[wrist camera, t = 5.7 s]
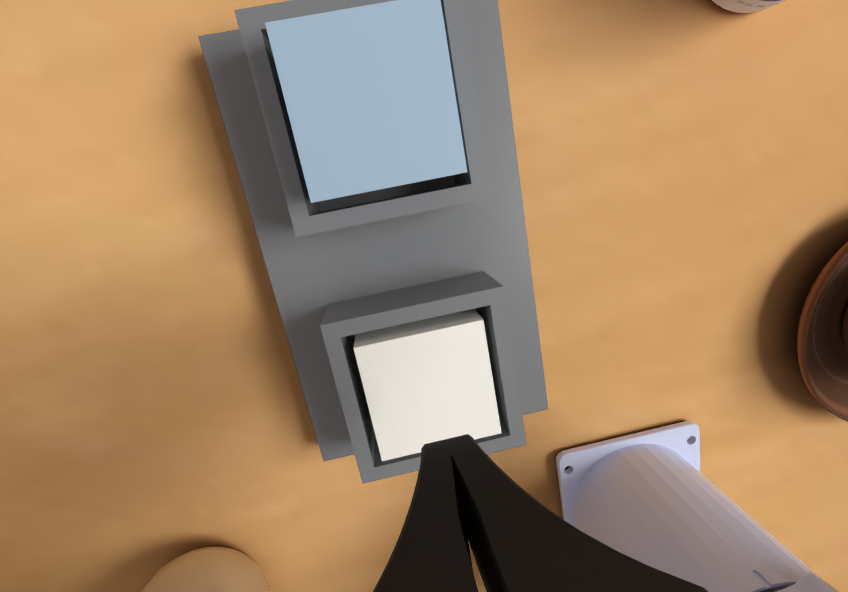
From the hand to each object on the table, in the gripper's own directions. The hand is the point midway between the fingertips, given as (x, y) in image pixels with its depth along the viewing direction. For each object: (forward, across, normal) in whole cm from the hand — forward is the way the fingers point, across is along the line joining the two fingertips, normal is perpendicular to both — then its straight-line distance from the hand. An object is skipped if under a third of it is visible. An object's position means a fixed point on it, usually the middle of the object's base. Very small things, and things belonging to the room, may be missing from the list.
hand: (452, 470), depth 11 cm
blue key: (+6, 0, -10) cm, 12 cm away
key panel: (+9, 0, -5) cm, 11 cm away
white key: (+8, 0, 0) cm, 8 cm away
